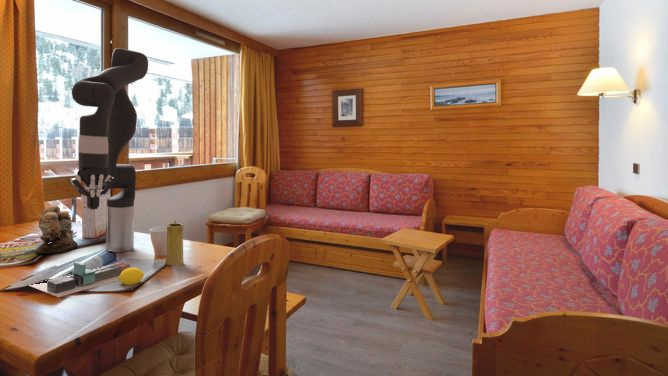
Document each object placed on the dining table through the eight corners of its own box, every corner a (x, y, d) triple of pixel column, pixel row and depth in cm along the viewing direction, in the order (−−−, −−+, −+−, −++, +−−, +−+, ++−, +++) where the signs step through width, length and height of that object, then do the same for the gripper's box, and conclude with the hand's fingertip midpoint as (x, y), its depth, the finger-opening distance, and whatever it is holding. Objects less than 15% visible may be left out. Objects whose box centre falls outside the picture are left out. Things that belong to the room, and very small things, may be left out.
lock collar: (83, 285, 114) (83, 265, 114) (72, 280, 117) (71, 261, 116) (95, 282, 117) (94, 262, 117) (83, 277, 120) (83, 259, 119)
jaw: (73, 284, 115) (73, 276, 115) (70, 283, 116) (69, 274, 116) (124, 270, 129) (125, 263, 129) (121, 269, 130) (121, 262, 130)
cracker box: (97, 231, 182) (97, 185, 179) (111, 231, 182) (111, 186, 180) (80, 238, 168) (80, 189, 165) (95, 238, 168) (95, 189, 166)
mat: (28, 287, 113) (28, 285, 113) (112, 265, 135) (112, 264, 135) (58, 299, 106) (58, 297, 106) (141, 274, 129) (141, 273, 128)
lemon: (118, 290, 116) (115, 272, 116) (122, 283, 122) (119, 267, 121) (144, 286, 118) (141, 268, 118) (146, 279, 123) (144, 263, 123)
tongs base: (56, 293, 109) (56, 283, 108) (47, 290, 111) (47, 280, 110) (130, 272, 128) (130, 264, 128) (121, 270, 130) (121, 261, 130)
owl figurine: (63, 256, 143) (62, 209, 141) (26, 256, 140) (24, 209, 138) (83, 243, 160) (83, 201, 158) (50, 243, 158) (49, 201, 156)
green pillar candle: (177, 267, 138) (177, 227, 136) (161, 265, 139) (161, 225, 137) (187, 262, 144) (187, 224, 142) (171, 260, 145) (172, 222, 143)
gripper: (76, 152, 110) (76, 214, 112) (122, 152, 121) (121, 208, 123) (62, 149, 113) (62, 209, 115) (108, 150, 125) (107, 204, 127)
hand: (93, 208), depth 119 cm, fingers closed
